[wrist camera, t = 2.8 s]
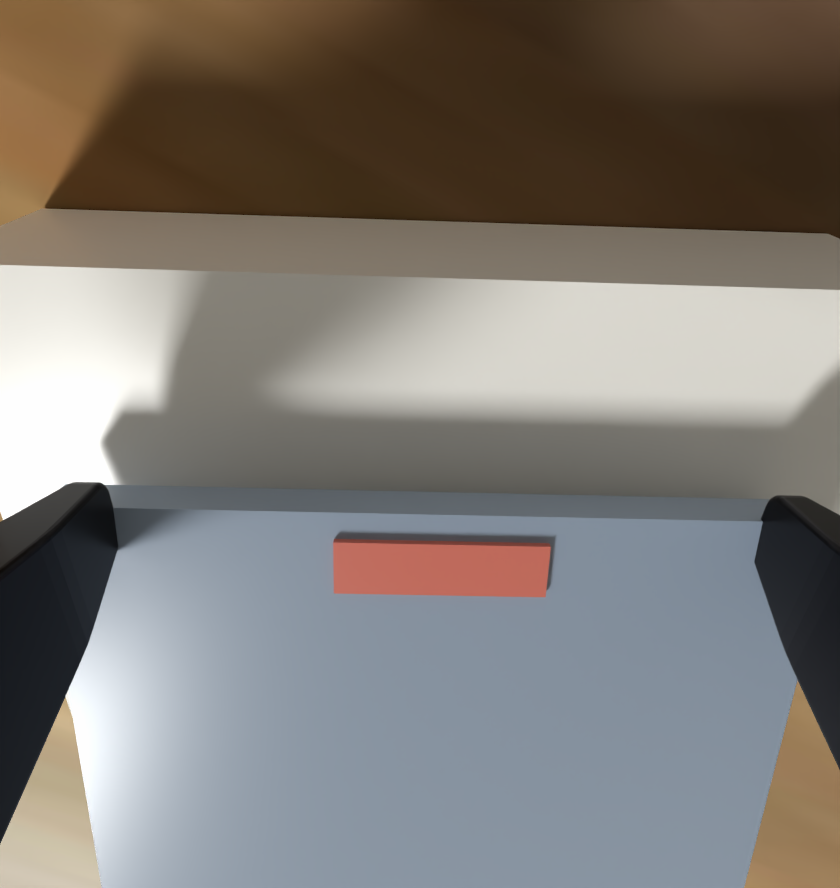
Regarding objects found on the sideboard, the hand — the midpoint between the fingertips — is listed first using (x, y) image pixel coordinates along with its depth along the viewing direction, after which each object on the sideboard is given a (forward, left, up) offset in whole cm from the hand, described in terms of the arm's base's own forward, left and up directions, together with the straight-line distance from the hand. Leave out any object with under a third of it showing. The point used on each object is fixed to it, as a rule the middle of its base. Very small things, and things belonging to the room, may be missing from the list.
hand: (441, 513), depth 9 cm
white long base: (0, +10, -5) cm, 11 cm away
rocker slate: (0, +4, 0) cm, 4 cm away
